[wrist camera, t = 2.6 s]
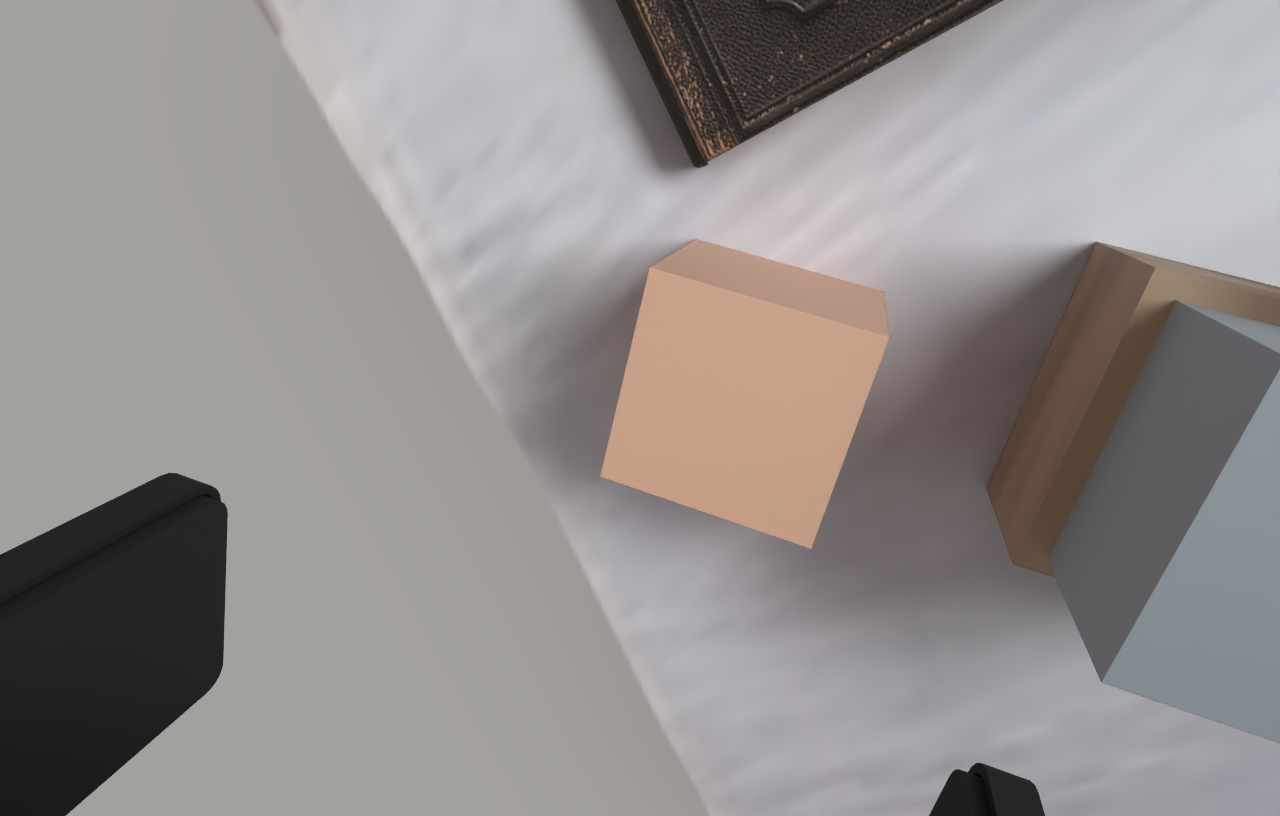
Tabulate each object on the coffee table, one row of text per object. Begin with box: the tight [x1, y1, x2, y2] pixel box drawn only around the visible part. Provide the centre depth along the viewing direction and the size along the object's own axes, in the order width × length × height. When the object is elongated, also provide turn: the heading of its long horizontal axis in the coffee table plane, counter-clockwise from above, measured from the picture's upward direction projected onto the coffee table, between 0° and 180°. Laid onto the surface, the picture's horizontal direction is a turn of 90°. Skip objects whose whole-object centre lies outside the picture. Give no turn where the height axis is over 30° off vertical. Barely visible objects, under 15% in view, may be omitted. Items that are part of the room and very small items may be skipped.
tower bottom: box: [987, 242, 1280, 577], centre depth 20 cm, size 8×8×5 cm
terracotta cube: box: [600, 239, 890, 549], centre depth 23 cm, size 6×6×6 cm
